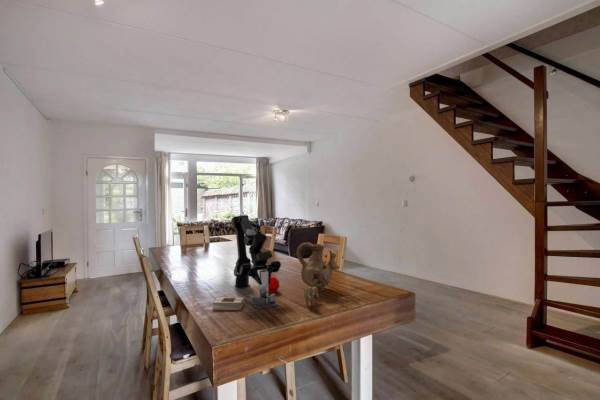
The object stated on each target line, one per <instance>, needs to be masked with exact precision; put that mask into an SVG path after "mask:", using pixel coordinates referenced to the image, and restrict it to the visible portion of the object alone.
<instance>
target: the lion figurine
mask: <svg viewBox="0 0 600 400" xmlns="http://www.w3.org/2000/svg"><path fill="white" fill-rule="evenodd" d="M303 296H304V299H305V304H304V306H305V305H308V306H309V302H310V306H311V307H313V305H314V298H315V299H316V301H318V300H319V301H320V295H319V292H318V289H317V288H316V287H310V286H307V287H306V288H305V289H304V293H303ZM308 301H309V302H308Z"/></svg>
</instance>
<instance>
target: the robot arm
mask: <svg viewBox="0 0 600 400" xmlns="http://www.w3.org/2000/svg"><path fill="white" fill-rule="evenodd" d="M230 223H231V225H232V229H233V230H234V232H235V235H236V236H235V237H236V247H237V260H236V262H235V265H234V266H235V267H234V269H233V275H234V277H235V284H234V287H236V288H237V289H245V288H249V287H251V286H252V285H251V284H250V281H249V279H250V277H251V279H253V280H255V282H256V283H257V284H258V285H259V286H260V285H261V281H260V274H259V273H258V272H259V271H262V270H267V271H269V284H270V280H271V276H272V274H273V273H278V272H279V270H280V268H281V267H282V263H281V261H280V260H273V261H271V262H270V264H268V260H270V259H271V258H272V257H273V253H272V251H271V250H267V251H263V250H262V249H264V246H265V244H266V242H267V238H268V237H267V236H266V234H265V233H262V232H261V231H256V230H254V228H253V226H252V224H251V222H250V218H249V215H247V214H239V215H237V216H236V215H234V216H233V217H232V218H231V220H230ZM247 247H249V248H248V254H250V258H249V257H248V256H247V255H248V254H247Z"/></svg>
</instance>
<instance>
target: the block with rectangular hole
mask: <svg viewBox="0 0 600 400" xmlns="http://www.w3.org/2000/svg"><path fill="white" fill-rule="evenodd" d="M244 300H245V298H244V297H243V296H240V297H239V296H236V297H235V296H234V297H233V296H231V297H230V296H229V297H227V296H226V297H225V296H224V297H221V296H218V297H216V299H214V300H213V302H212V310H213V311H214V310H215V311H219V310H220V311H223V310H225V311H228V310H229V311H233V310H234V311H235V310H236V311H240V310H242V308H243V306H244V304H245V301H244Z"/></svg>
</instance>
